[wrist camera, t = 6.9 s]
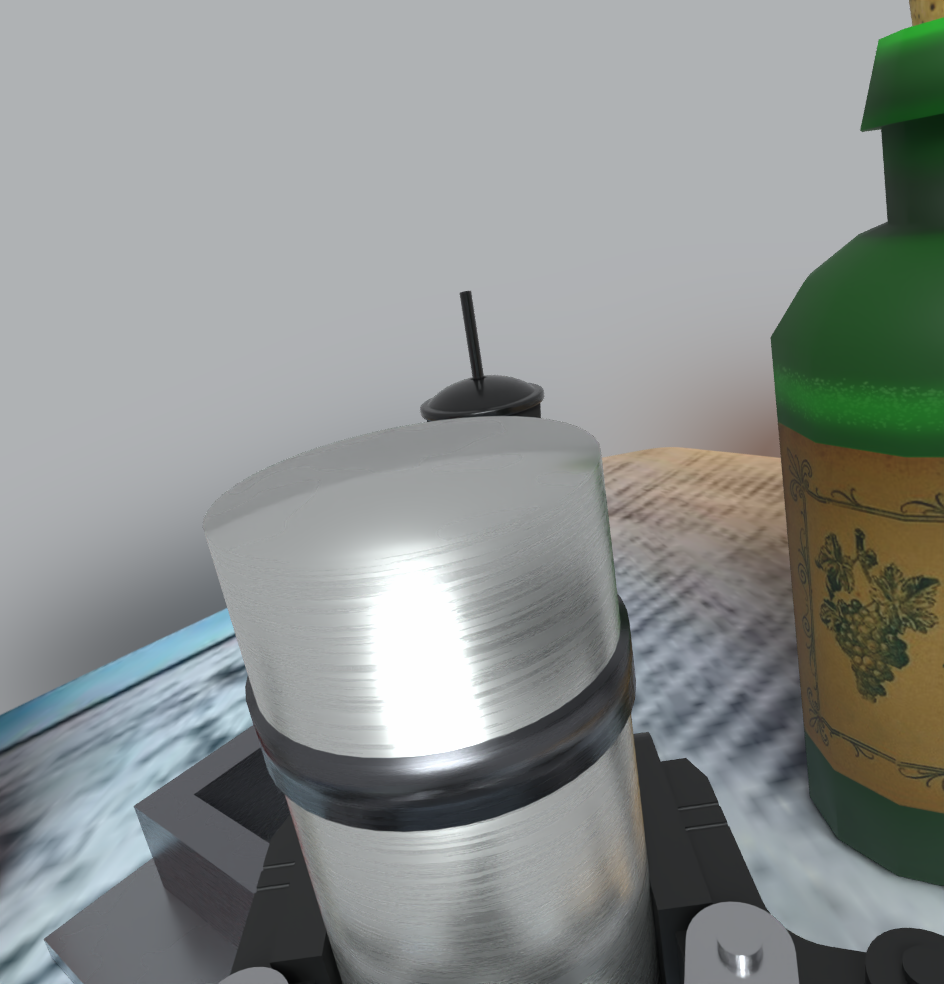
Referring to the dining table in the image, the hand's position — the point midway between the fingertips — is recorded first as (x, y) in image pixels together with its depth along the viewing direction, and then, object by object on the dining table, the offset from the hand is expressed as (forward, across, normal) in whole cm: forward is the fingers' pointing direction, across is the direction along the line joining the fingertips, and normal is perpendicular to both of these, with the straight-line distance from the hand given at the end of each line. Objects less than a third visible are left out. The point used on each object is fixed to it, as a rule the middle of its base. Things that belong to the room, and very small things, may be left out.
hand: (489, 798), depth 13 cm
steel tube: (-3, 0, +9) cm, 9 cm away
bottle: (+12, -15, +15) cm, 25 cm away
